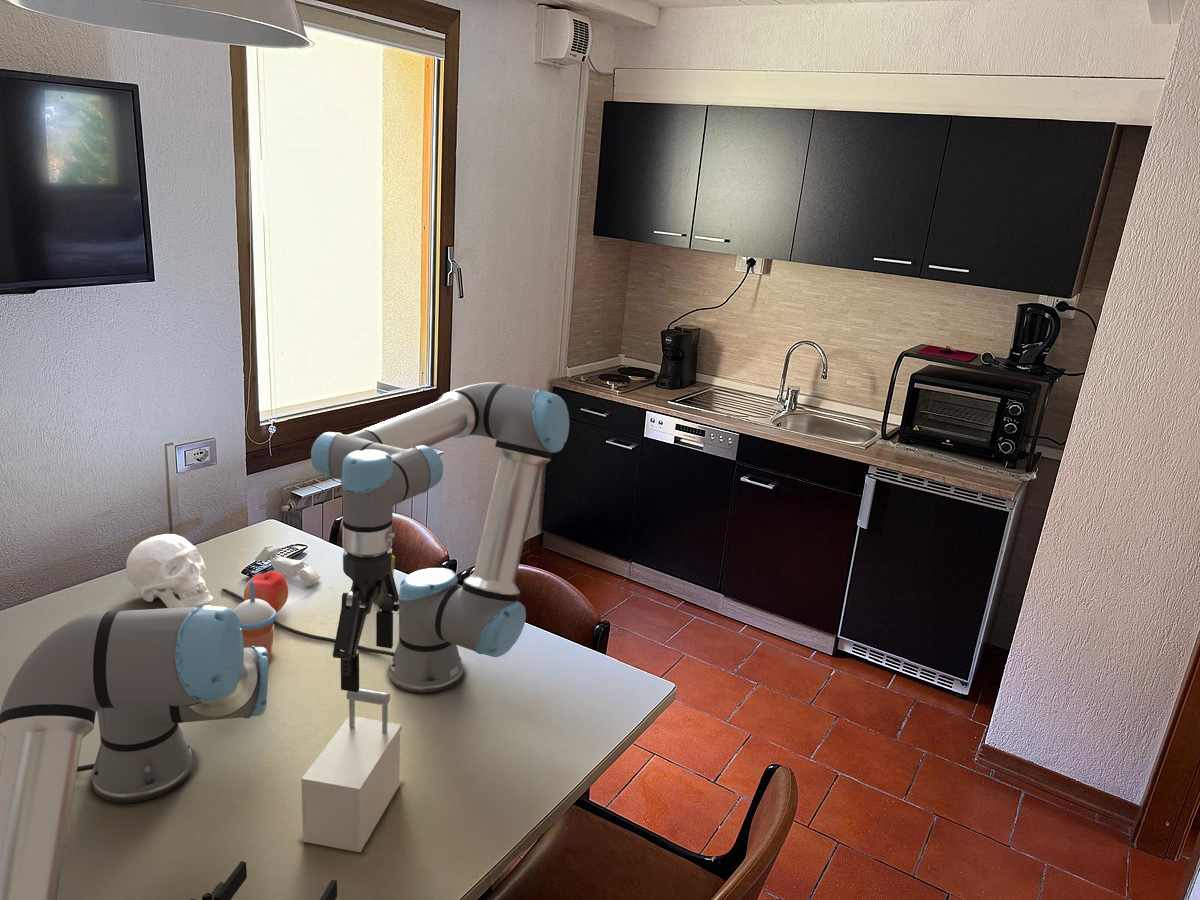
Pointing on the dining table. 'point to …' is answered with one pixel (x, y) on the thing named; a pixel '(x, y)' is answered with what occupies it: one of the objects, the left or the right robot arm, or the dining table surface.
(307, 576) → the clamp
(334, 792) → the chest
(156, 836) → the dining table surface
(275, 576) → the apple
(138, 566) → the skull
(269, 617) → the cup with straw
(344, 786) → the lid
